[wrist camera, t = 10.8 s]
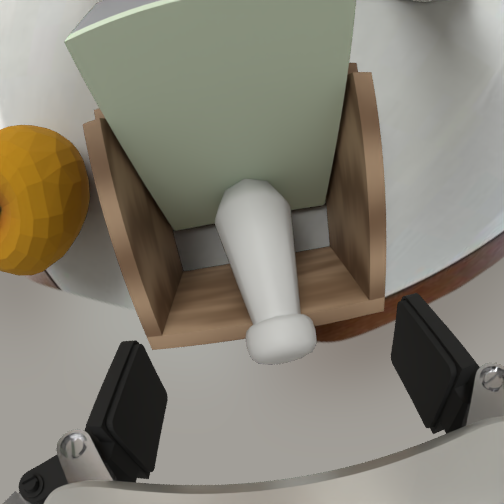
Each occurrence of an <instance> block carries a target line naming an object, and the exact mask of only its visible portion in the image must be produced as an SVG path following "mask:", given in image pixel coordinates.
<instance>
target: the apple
mask: <svg viewBox="0 0 504 504" xmlns="http://www.w3.org/2000/svg"><path fill="white" fill-rule="evenodd" d="M89 199H90V192H89V179H88V175H87V172H86V168H85V164H84V161H83V159H82V157H81V155H80V153H79V151H78V150H77V149H76V147H75V146H74V145H73V144H72V143H71V142H70V141H69V140H67V139H66V138H64V137H63V136H61V135H60V134H58V133H57V132H55V131H52V130H50V129H47V128H43V127H38V126H32V125H16V126H10V127H6V128H3V129H1V130H0V271H3V272H7V273H11V274H15V275H34V274H37V273H40V272H43V271H44V270H45V269H47V268H48V267H49V266H51V265H52V264H53V263H55V262H56V261H57V260H59V259H60V258H62V257H63V256H64V255H65V253H66V252H67V251H68V249H69V248H70V247H71V245H72V244H73V242H74V240H75V239H76V237H77V236H78V234H79V232H80V230H81V228H82V225H83V223H84V221H85V218H86V215H87V212H88V206H89Z"/></svg>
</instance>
